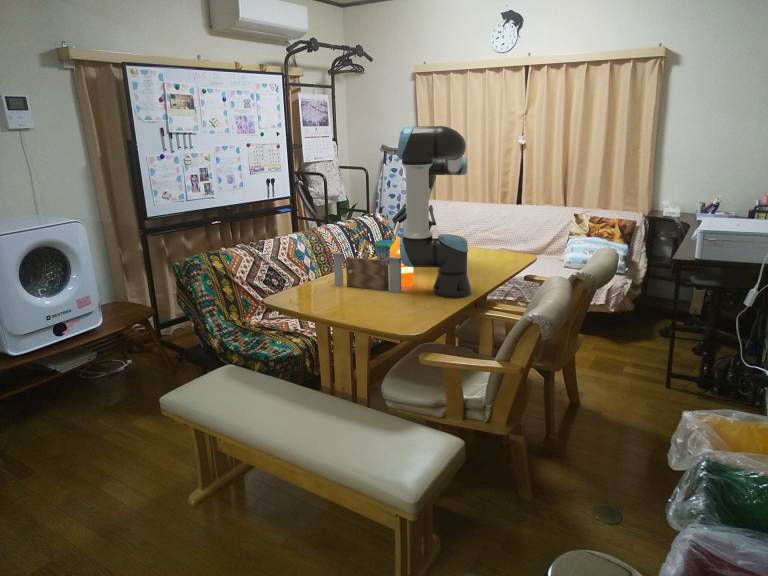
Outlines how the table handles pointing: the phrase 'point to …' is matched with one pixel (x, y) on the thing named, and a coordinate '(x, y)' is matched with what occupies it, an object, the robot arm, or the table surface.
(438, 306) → the table surface
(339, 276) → the grey rectangular posts
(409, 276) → the orange juice
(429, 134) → the robot arm
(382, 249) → the snack cup
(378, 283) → the gate
